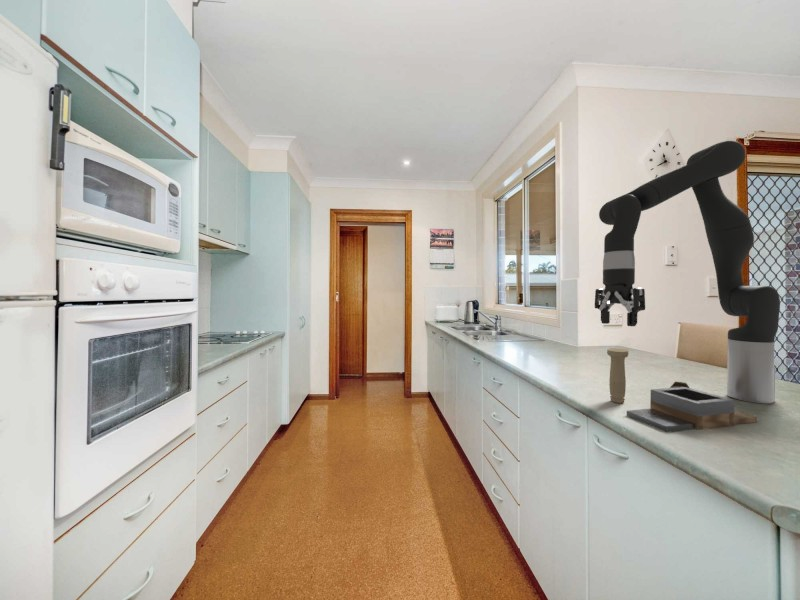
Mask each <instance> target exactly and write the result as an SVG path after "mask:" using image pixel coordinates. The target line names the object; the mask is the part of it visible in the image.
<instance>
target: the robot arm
mask: <svg viewBox="0 0 800 600" xmlns="http://www.w3.org/2000/svg"><path fill="white" fill-rule="evenodd" d="M746 155H747V154H746V149H745V147H744V146H743V145H742V143H741V142H739V141H736V140H724V141H720V142H717V143H714V144H712V145H710V146H708V147H705V148H704V149H702V150H699V151H696V152H694V153H693V154H691V156H689V157H688V159H687V161H686V163H685V164H686V165H684V166H682V167H679V168H676V169H674V170H672V171H669V172H667V173H665V174H662V175H661V176H658V177H656V178H654V179H652V180H650V181H648V182H645V183H644V184H641V185H640V186H638V187H637V188H635V189H632V190H631V191H630V192H628V193H625V194H623V195H620V196H618V197H616V198H614V199H612V200H609V201H607V202H606V203H605V204H603V205H602V206H601V208H600V209H599V212H598V217H599V220H600V221H601V223H603V224H605V225H608V226H612V229H611V230H610V231H609V232H608V233H607V234H606V235H605V236H604V242H603V243H604V245H603V250H604V251H603V253H604V254H603V260H602V284H603V286H604V288H596V289H595V292H594V293H595V294H594V295H595V296H594V308H595V309H598V310H599V311H600V322H601V324H603V325H604V324H605V325H606V324H610V322H611V321H610V319H611V317H610V316H611V315H610V313H611V312H610V311H611V310H610V309H611V307H612V306H614V305H615V304H617V305H618V304H620V305H622V306H623V307H624V308H625V309H626V311H627V313H626V317H627V318H626V319H627V320H626V325H627V326H628V327H636V326H637V324H638V312H642V311H645V310H646V295H645V294H646V292H645V290H646V289H645V288H644V287H633V285H634V284H635V281H636V277H635V275H636V256H635V234H636V232H637V229H638V225H639V222H640V219H641V215H642V212H644V211H647V210H649V209H652V208H654V207H657V206H658V205H661V204H662V203H664V202H666V201H668V200H669V199H671V198H673V197H675V196H677V195H679V194H681V193H683V192H685V191H686V190H689V189H690V188H692V191H693V193H694V196H695V198H696V199H695V200H696V201H697V204H698V207H699V210H700V215H701V218H702V221H703V225H704V229H705V233H706V234H705V235H706V239H707V242H708V245H709V250H710V252H711V255H712V260H713V265H714V268H715V273H716V275H715V276H716V284H717V292H718V293H717V294H718V299H719V304H720V307H721V310H723V312H724V313H725V314H727V315H729V316H731V317H741V318H743V317H744V318H746V319H747V320H746V322H745V324H744V325H742V326H739V327H736V328H735V327H734V328H731V329H728V332H727V368H726V369H727V370H726V371H727V372H726V373H727V376H726V377H727V381H726V395H727V396H728V397H730V398H732V399H734V400H735V399H736V400H740V401H745V402H749V403H757V404H773V403H774V402H775V401H776V368H775V339H776V338H775V337H776V335H777V333H778V329H779V322H780V321H779V320H780V319H779V318H780V310H781V298H780V294H779V293H778V290H777V289H776V288H774V287H773V286H769V285H744V281H743V276H742V270H743V265H744V262H745V260H746V259H747V257H748V255H749V253H750V251H751V250H752V247H753V244H754V243H755V242H754V241H755V236H754V235H755V234H754V231H753V227H752V223H751V220H750V218H749V216H748V214H747V213H746V212H745V211H744V210H743V209H742V208H741V207H740V206H738V205H737V204H736V203H734V201H732V200H731V199H729V198H728V197H727V195H725V193H724V191H723V189H722V187H721V184H720V180H719V179H720V178H721V177H724V176H727V175H729V174H731V173H733V172H735V171H737V170H738V169H739V168H740V167H741V166H742V165H743V163H744V162H745V159H746ZM609 310H610V311H609ZM627 326H626V327H627Z"/></svg>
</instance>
